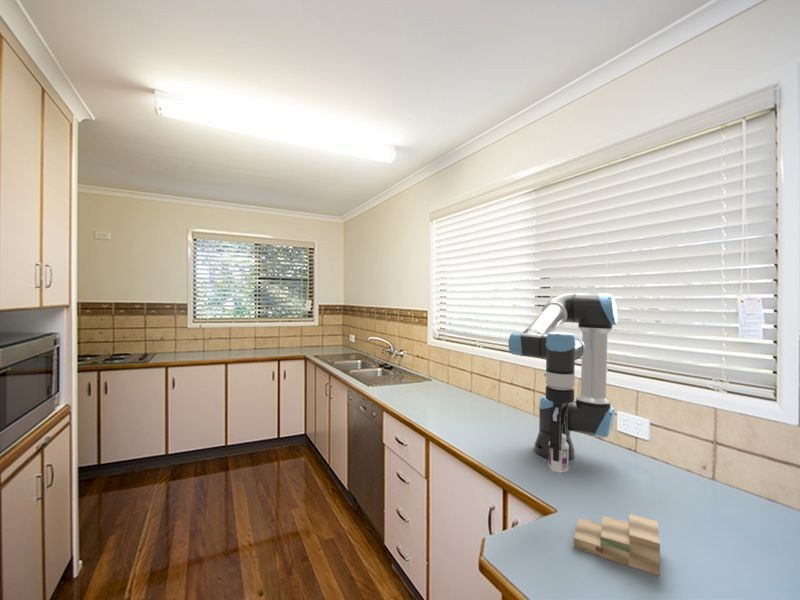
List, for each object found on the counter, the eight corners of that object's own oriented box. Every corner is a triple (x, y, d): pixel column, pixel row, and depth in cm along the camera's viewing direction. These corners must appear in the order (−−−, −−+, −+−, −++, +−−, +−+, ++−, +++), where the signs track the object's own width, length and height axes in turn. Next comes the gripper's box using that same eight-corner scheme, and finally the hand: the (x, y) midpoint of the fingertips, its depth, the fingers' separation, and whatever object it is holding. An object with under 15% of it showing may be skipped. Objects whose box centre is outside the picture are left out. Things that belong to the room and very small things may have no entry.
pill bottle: (552, 462, 111) (552, 429, 111) (571, 467, 107) (571, 434, 107) (545, 468, 107) (546, 435, 107) (565, 474, 103) (565, 439, 103)
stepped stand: (578, 526, 104) (578, 499, 104) (656, 550, 95) (657, 521, 94) (573, 548, 95) (574, 519, 95) (659, 576, 86) (660, 544, 86)
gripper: (552, 378, 116) (551, 452, 117) (538, 391, 101) (537, 476, 101) (579, 382, 112) (577, 458, 113) (568, 396, 97) (566, 484, 97)
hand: (558, 466), depth 107 cm, fingers closed on pill bottle, 5 cm apart
